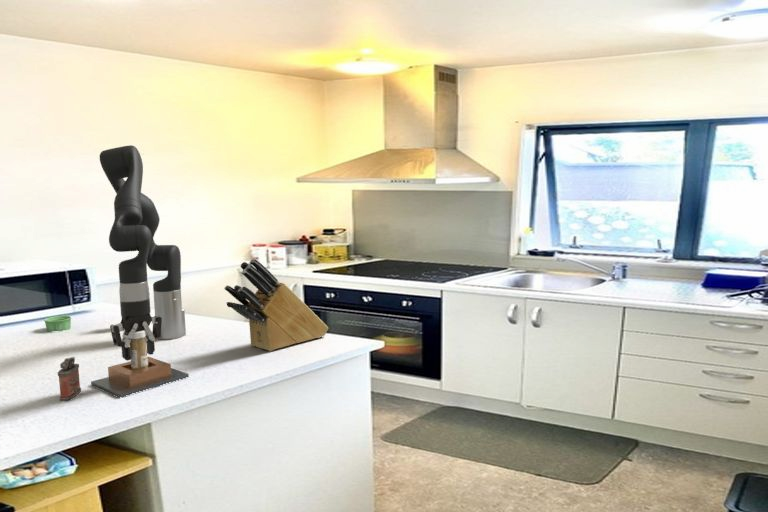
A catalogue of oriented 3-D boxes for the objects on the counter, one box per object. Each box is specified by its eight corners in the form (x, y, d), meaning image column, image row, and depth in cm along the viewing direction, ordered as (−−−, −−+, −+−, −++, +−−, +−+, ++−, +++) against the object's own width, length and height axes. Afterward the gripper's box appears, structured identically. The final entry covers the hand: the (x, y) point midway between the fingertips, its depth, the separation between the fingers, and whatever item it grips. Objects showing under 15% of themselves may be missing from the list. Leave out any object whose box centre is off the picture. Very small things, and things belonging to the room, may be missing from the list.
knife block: (225, 352, 188) (220, 258, 184) (309, 331, 213) (306, 248, 209) (244, 359, 180) (239, 261, 176) (329, 336, 206) (327, 250, 202)
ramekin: (56, 326, 226) (55, 315, 226) (77, 326, 225) (76, 315, 224) (39, 332, 218) (38, 320, 217) (61, 332, 216) (60, 321, 216)
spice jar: (151, 377, 161) (147, 330, 159) (133, 381, 158) (129, 333, 156) (147, 373, 165) (143, 327, 163) (130, 376, 162) (126, 330, 160)
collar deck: (158, 366, 174) (157, 352, 174) (188, 377, 164) (187, 362, 164) (91, 385, 159) (89, 369, 158) (119, 398, 149) (118, 381, 148)
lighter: (71, 390, 155) (68, 354, 153) (84, 390, 155) (81, 354, 154) (56, 402, 147) (53, 364, 145) (70, 401, 147) (67, 363, 146)
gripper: (152, 292, 166) (155, 348, 168) (102, 300, 155) (106, 360, 157) (166, 295, 162) (169, 353, 164) (115, 304, 151) (120, 366, 153)
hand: (138, 356), depth 161 cm, fingers open, 6 cm apart
